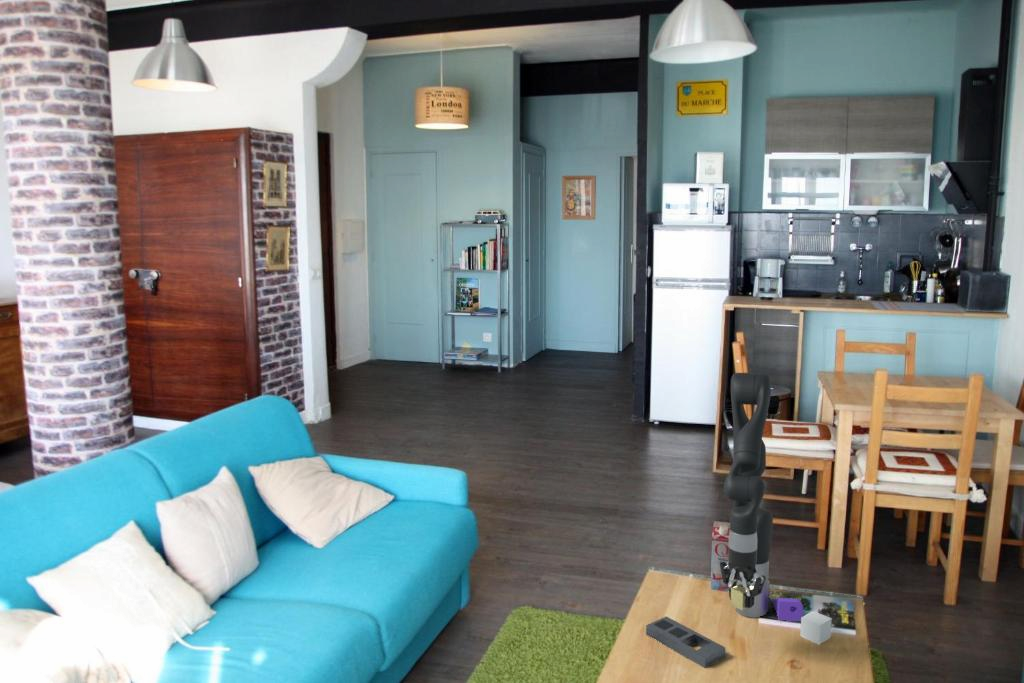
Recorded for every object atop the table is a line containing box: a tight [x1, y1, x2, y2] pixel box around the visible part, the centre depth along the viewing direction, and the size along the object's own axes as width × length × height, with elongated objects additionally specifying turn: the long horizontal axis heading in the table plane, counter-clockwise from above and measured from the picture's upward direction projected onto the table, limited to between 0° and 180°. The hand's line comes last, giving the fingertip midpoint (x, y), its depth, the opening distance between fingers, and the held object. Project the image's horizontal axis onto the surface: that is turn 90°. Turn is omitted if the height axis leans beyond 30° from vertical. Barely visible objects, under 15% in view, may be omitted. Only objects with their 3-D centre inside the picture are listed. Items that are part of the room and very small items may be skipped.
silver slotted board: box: [645, 615, 726, 669], centre depth 240 cm, size 8×22×3 cm, turn 37°
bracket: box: [772, 597, 804, 621], centre depth 258 cm, size 12×7×7 cm, turn 171°
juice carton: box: [710, 520, 731, 593], centre depth 274 cm, size 7×7×22 cm
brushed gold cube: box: [730, 584, 751, 610], centre depth 233 cm, size 4×5×5 cm
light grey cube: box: [800, 610, 833, 645], centre depth 243 cm, size 6×6×6 cm
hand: (741, 603), depth 234 cm, fingers closed on brushed gold cube, 4 cm apart
